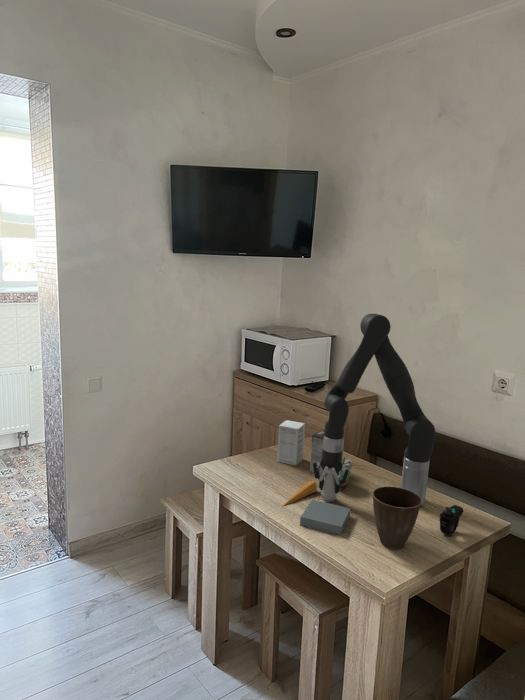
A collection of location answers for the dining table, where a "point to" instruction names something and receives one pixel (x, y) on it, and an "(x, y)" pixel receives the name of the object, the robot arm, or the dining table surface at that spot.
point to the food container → (346, 463)
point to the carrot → (303, 492)
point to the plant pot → (395, 515)
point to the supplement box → (291, 442)
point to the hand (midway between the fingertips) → (329, 490)
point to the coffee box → (317, 449)
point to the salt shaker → (329, 487)
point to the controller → (450, 519)
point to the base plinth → (325, 517)
